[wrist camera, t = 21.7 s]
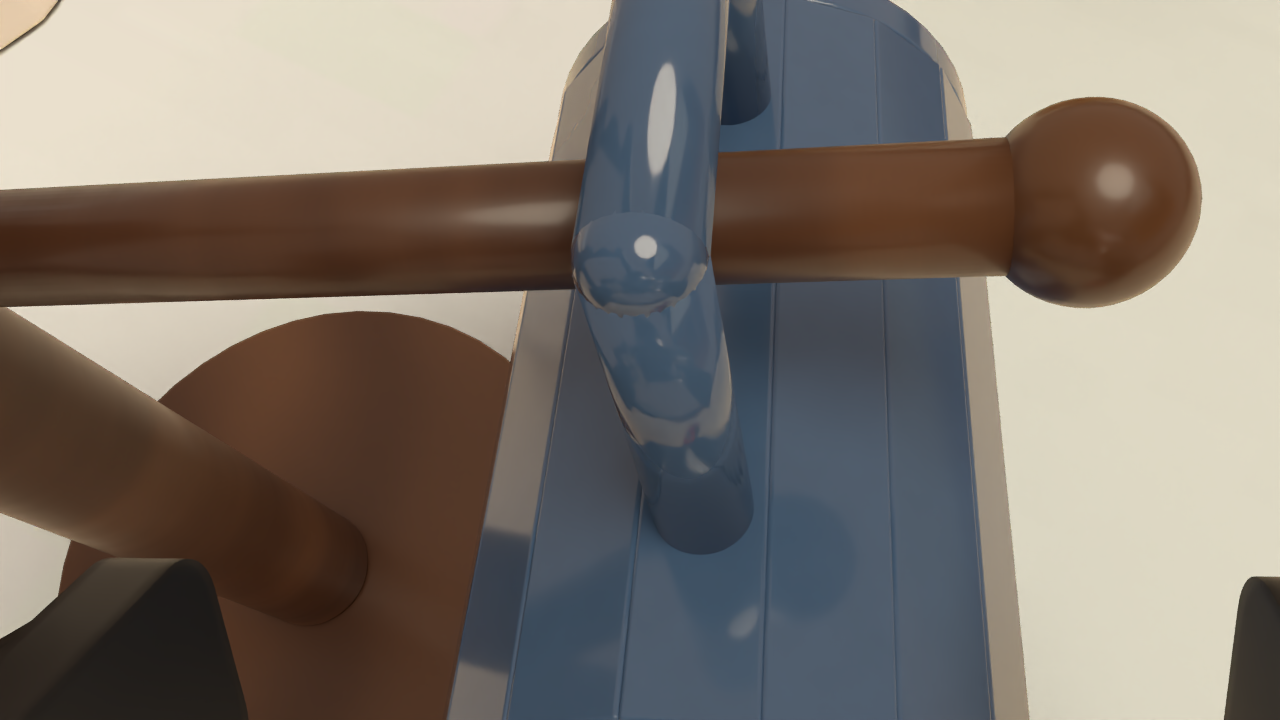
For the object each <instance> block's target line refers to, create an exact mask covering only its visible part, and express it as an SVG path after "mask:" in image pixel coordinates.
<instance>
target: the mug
mask: <svg viewBox="0 0 1280 720" xmlns="http://www.w3.org/2000/svg"><path fill="white" fill-rule="evenodd" d="M964 139H973V136H972V129H971V124H970V122H969V120H968V118H967V109H966V103H965V98H964V93H963V88H962V85H961V82H960V80H959V77H958V75H957V72H956V69H955V67H954V65H953V64H952V62H951V60H950V59H949V57H948V55H947V54H946V52H945V51H944V49H943V47H942V46H941V45H940V44H939V43H938V42H937V40H936V39H935V38H934V37H933V36H932V35H931V33H930V32H929V31H928V30H927V29H926V28H925V27H924V26H923V25H922V24H921V23H919V22H918V21H917V20H916V19H915V18H914V17H912V16H911V15H910V14H909V13H908V12H907V11H905V10H903V9H902V8H900V7H899V6H897V5H896V4H894V3H892V2H891V1H889V0H612V3H611V9H610V15H609V21H608V22H607V23H606V24H604V25H603V26H602V27H601V28H600V29H599V30H598V31H597V32H596V33H595V34H594V35H593V36H592V38H591V39H590V40H589V42H588V43H587V44H586V45H585V47H584V48H583V49H582V51H581V52H580V53H579V55H578V57H577V59H576V61H575V63H574V64H573V66H572V68H571V70H570V72H569V75H568V78H567V81H566V84H565V87H564V90H563V94H562V99H561V105H560V110H559V115H558V121H557V125H556V129H555V133H554V137H553V141H552V146H551V151H550V156H549V161H563V160H582V159H586V161H585V167H584V173H583V179H582V185H581V191H580V197H579V203H578V209H577V215H576V221H575V227H574V233H573V239H572V245H571V256H570V265H571V271H572V277H573V280H574V284H575V287H576V289H568V290H536V291H524V293H523V298H522V303H521V308H520V314H519V319H518V324H517V329H516V335H515V340H514V345H513V350H512V356H511V361H510V366H509V371H508V377H507V382H506V387H505V393H504V398H503V403H502V408H501V414H500V419H499V424H498V429H497V435H496V440H495V445H494V450H493V456H492V461H491V466H490V471H489V477H488V482H487V487H486V492H485V498H484V503H483V508H482V513H481V519H480V524H479V529H478V534H477V540H476V545H475V550H474V555H473V561H472V566H471V571H470V576H469V582H468V587H467V592H466V597H465V603H464V608H463V613H462V619H461V624H460V629H459V634H458V640H457V645H456V650H455V655H454V661H453V666H452V671H451V676H450V682H449V687H448V692H447V697H446V703H445V708H444V713H443V718H442V720H1030V719H1029V709H1028V698H1027V688H1026V678H1025V668H1024V658H1023V647H1022V637H1021V627H1020V617H1019V606H1018V596H1017V586H1016V576H1015V566H1014V555H1013V545H1012V535H1011V525H1010V514H1009V504H1008V494H1007V484H1006V474H1005V463H1004V453H1003V443H1002V433H1001V422H1000V412H999V402H998V392H997V382H996V371H995V361H994V351H993V341H992V330H991V320H990V310H989V300H988V290H987V279H986V277H954V278H922V279H890V280H857V281H825V282H793V283H761V284H729V285H716V284H715V278H714V273H713V267H712V261H711V243H712V230H713V217H714V204H715V190H716V177H717V164H718V152H735V151H754V150H773V149H792V148H811V147H830V146H849V145H868V144H887V143H907V142H926V141H945V140H964Z"/></svg>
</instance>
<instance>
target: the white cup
mask: <svg viewBox="0 0 1280 720" xmlns="http://www.w3.org/2000/svg"><path fill="white" fill-rule="evenodd" d="M57 2H58V0H0V50H1V49H2V48H4V47H5V46H7V45H8V44H10V43H11V42H13V41H14V40H15V39H17V38H18V37H20V36H21V35H23V34H24V33H26V32H27V31H28V30H30V29H31V28H32V27H34V26H35V25H37V24H38V23H40V22H41V21H42V20H43V19H44V18H45V17H46V16H47V14H48V13H49V12H50V11H51V9H52V8H53V7H54V5H55V4H56V3H57Z"/></svg>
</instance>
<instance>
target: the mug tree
mask: <svg viewBox="0 0 1280 720" xmlns="http://www.w3.org/2000/svg"><path fill="white" fill-rule="evenodd" d="M585 161H586V159H582V160H563V161H544V162H525V163H506V164H487V165H468V166H449V167H429V168H410V169H391V170H372V171H353V172H334V173H315V174H296V175H277V176H258V177H239V178H219V179H200V180H181V181H162V182H143V183H124V184H105V185H86V186H67V187H48V188H29V189H10V190H0V513H2V514H5V515H8V516H10V517H13V518H15V519H18V520H21V521H23V522H26V523H29V524H31V525H34V526H36V527H39V528H42V529H44V530H47V531H50V532H52V533H55V534H57V535H60V536H63V537H65V538H68V539H71V542H70V546H69V549H68V552H67V556H66V559H65V562H64V566H63V571H62V577H61V582H60V588H59V593H58V596H59V595H60V594H61V593H62V592H63V591H64V590H65V589H66V588H68V587H69V586H70V585H71V584H72V583H73V582H74V581H75V580H76V579H77V578H78V577H79V576H81V575H82V574H83V573H84V572H85V571H86V570H87V569H88V568H89V567H90V566H92V565H93V564H94V563H96V562H98V561H100V560H102V559H105V558H176V559H194V560H196V561H198V562H200V563H201V564H202V565H203V566H204V567H205V568H206V569H207V571H208V572H209V574H210V576H211V578H212V581H213V584H214V587H215V590H216V594H217V598H218V601H219V605H220V609H221V613H222V616H223V620H224V624H225V627H226V631H227V635H228V639H229V642H230V646H231V650H232V654H233V657H234V661H235V665H236V669H237V672H238V676H239V680H240V683H241V687H242V691H243V695H244V698H245V702H246V706H247V711H248V720H442V718H443V713H444V708H445V703H446V697H447V692H448V687H449V682H450V676H451V671H452V666H453V661H454V655H455V650H456V645H457V640H458V634H459V629H460V624H461V619H462V613H463V608H464V603H465V597H466V592H467V587H468V582H469V576H470V571H471V566H472V561H473V555H474V550H475V545H476V540H477V534H478V529H479V524H480V519H481V513H482V508H483V503H484V498H485V492H486V487H487V482H488V477H489V471H490V466H491V461H492V456H493V450H494V445H495V440H496V435H497V429H498V424H499V419H500V414H501V408H502V403H503V398H504V393H505V387H506V382H507V377H508V371H509V366H510V362H509V361H508V360H507V359H506V358H505V357H503V356H502V355H500V354H499V353H497V352H496V351H494V350H493V349H491V348H490V347H488V346H487V345H485V344H484V343H482V342H481V341H479V340H477V339H475V338H473V337H471V336H469V335H467V334H465V333H463V332H461V331H458V330H456V329H454V328H452V327H449V326H446V325H443V324H440V323H437V322H434V321H430V320H427V319H424V318H420V317H414V316H409V315H403V314H397V313H391V312H367V311H353V312H342V313H332V314H323V315H319V316H314V317H309V318H305V319H300V320H295V321H292V322H289V323H286V324H283V325H280V326H277V327H274V328H271V329H268V330H265V331H262V332H260V333H258V334H256V335H254V336H252V337H250V338H247V339H245V340H243V341H241V342H239V343H237V344H235V345H233V346H231V347H229V348H227V349H226V350H224V351H223V352H221V353H219V354H218V355H216V356H214V357H213V358H211V359H209V360H208V361H206V362H205V363H203V364H201V365H200V366H199V367H198V368H196V369H195V370H194V371H192V372H191V373H190V374H188V375H187V376H186V377H185V378H183V379H182V380H181V381H179V382H178V383H177V384H175V385H174V386H173V387H172V388H171V389H170V390H169V391H168V392H167V393H166V394H165V395H164V396H163V397H162V398H161V399H159V400H158V401H156V400H155V399H153V398H151V397H150V396H148V395H147V394H145V393H143V392H142V391H140V390H139V389H137V388H135V387H134V386H132V385H130V384H129V383H127V382H126V381H124V380H122V379H121V378H119V377H118V376H116V375H114V374H113V373H111V372H110V371H108V370H106V369H105V368H103V367H102V366H100V365H98V364H97V363H95V362H94V361H92V360H90V359H89V358H87V357H85V356H84V355H82V354H81V353H79V352H77V351H76V350H74V349H73V348H71V347H69V346H68V345H66V344H65V343H63V342H61V341H60V340H58V339H57V338H55V337H53V336H52V335H50V334H49V333H47V332H45V331H44V330H42V329H40V328H39V327H37V326H36V325H34V324H32V323H31V322H29V321H28V320H26V319H24V318H23V317H21V316H20V315H18V314H16V313H15V312H13V311H12V310H10V309H8V308H7V307H21V306H53V305H85V304H117V303H149V302H182V301H214V300H246V299H278V298H310V297H343V296H375V295H407V294H439V293H471V292H503V291H536V290H568V289H576V287H575V284H574V280H573V277H572V271H571V265H570V256H571V245H572V239H573V233H574V227H575V221H576V215H577V209H578V203H579V197H580V191H581V185H582V179H583V173H584V167H585ZM1201 203H1202V190H1201V182H1200V177H1199V173H1198V168H1197V165H1196V163H1195V160H1194V158H1193V156H1192V154H1191V152H1190V150H1189V149H1188V147H1187V145H1186V144H1185V142H1184V140H1183V139H1182V138H1181V137H1180V135H1179V134H1178V133H1177V132H1176V131H1175V130H1174V129H1173V128H1172V127H1171V126H1170V125H1169V124H1168V123H1167V122H1166V121H1164V120H1163V119H1162V118H1160V117H1159V116H1158V115H1156V114H1154V113H1153V112H1151V111H1149V110H1147V109H1146V108H1143V107H1141V106H1139V105H1137V104H1134V103H1131V102H1128V101H1124V100H1119V99H1115V98H1106V97H1085V98H1076V99H1071V100H1066V101H1062V102H1059V103H1056V104H1053V105H1050V106H1048V107H1046V108H1044V109H1042V110H1039V111H1038V112H1036V113H1034V114H1032V115H1031V116H1029V117H1028V118H1026V119H1024V120H1023V121H1022V122H1021V123H1019V124H1018V125H1017V126H1016V127H1015V128H1014V129H1013V130H1012V131H1010V133H1009V134H1008V135H1007V136H1006V137H1002V138H983V139H964V140H945V141H926V142H907V143H887V144H868V145H849V146H830V147H811V148H792V149H773V150H754V151H735V152H718V164H717V177H716V190H715V204H714V217H713V230H712V243H711V261H712V267H713V273H714V278H715V284H716V285H729V284H761V283H793V282H825V281H857V280H890V279H922V278H954V277H986V276H1006V277H1007V278H1008V279H1009V280H1010V281H1011V282H1012V283H1014V284H1015V285H1016V286H1017V287H1019V288H1020V289H1022V290H1023V291H1025V292H1026V293H1028V294H1030V295H1032V296H1034V297H1036V298H1038V299H1041V300H1044V301H1046V302H1049V303H1053V304H1056V305H1060V306H1066V307H1073V308H1096V307H1104V306H1109V305H1114V304H1117V303H1120V302H1123V301H1126V300H1129V299H1131V298H1133V297H1136V296H1138V295H1140V294H1142V293H1144V292H1145V291H1147V290H1149V289H1150V288H1152V287H1153V286H1155V285H1156V284H1157V283H1158V282H1160V281H1161V280H1162V279H1163V278H1164V277H1166V276H1167V275H1168V274H1169V273H1170V272H1171V271H1172V270H1173V269H1174V268H1175V266H1176V265H1177V264H1178V263H1179V262H1180V260H1181V259H1182V257H1183V256H1184V254H1185V253H1186V251H1187V250H1188V248H1189V246H1190V244H1191V242H1192V240H1193V237H1194V235H1195V232H1196V230H1197V227H1198V223H1199V219H1200V213H1201Z"/></svg>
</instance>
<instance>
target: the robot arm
mask: <svg viewBox="0 0 1280 720" xmlns="http://www.w3.org/2000/svg"><path fill="white" fill-rule="evenodd" d="M0 720H248V711H247V706H246V702H245V698H244V695H243V691H242V687H241V683H240V680H239V676H238V672H237V669H236V665H235V661H234V657H233V654H232V650H231V646H230V642H229V639H228V635H227V631H226V627H225V624H224V620H223V616H222V613H221V609H220V605H219V601H218V598H217V594H216V590H215V587H214V584H213V581H212V578H211V576H210V574H209V572H208V571H207V569H206V568H205V567H204V566H203V565H202V564H201V563H200V562H198V561H196V560H194V559H176V558H105V559H102V560H100V561H98V562H96V563H94V564H93V565H92V566H90V567H89V568H88V569H87V570H86V571H85V572H84V573H83V574H82V575H81V576H79V577H78V578H77V579H76V580H75V581H74V582H73V583H72V584H71V585H70V586H69V587H68V588H66V589H65V590H64V591H63V592H62V593H61V594H60V595H59V596H58V597H57V598H56V599H55V600H53V601H52V602H51V603H50V604H49V605H48V606H47V607H46V608H45V609H44V610H43V611H42V612H40V613H39V614H38V615H37V616H36V617H35V618H34V619H33V620H32V621H30V622H29V623H27V624H25V625H24V626H22V627H20V628H18V629H17V630H15V631H13V632H12V633H10V634H8V635H6V636H5V637H3V638H1V639H0ZM1224 720H1280V577H1251V578H1249V579H1248V580H1247V582H1246V583H1245V584H1244V587H1243V589H1242V592H1241V595H1240V599H1239V605H1238V611H1237V619H1236V627H1235V635H1234V643H1233V651H1232V659H1231V667H1230V675H1229V683H1228V691H1227V699H1226V707H1225V715H1224Z"/></svg>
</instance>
